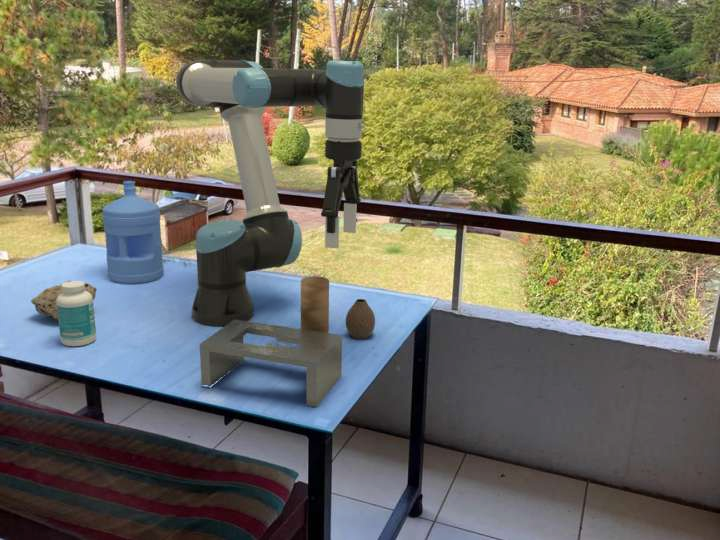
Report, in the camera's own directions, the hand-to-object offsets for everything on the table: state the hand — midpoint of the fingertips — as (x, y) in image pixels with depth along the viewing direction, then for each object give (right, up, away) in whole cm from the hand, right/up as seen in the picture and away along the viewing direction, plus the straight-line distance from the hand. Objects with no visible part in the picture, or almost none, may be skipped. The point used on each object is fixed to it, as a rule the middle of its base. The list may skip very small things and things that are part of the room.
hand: (341, 239), depth 143 cm
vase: (+4, -22, +14) cm, 27 cm away
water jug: (-62, -9, +53) cm, 82 cm away
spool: (-6, -25, +3) cm, 26 cm away
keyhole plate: (-13, -29, -10) cm, 33 cm away
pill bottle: (-59, -23, +7) cm, 64 cm away
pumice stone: (-68, -18, +22) cm, 73 cm away
